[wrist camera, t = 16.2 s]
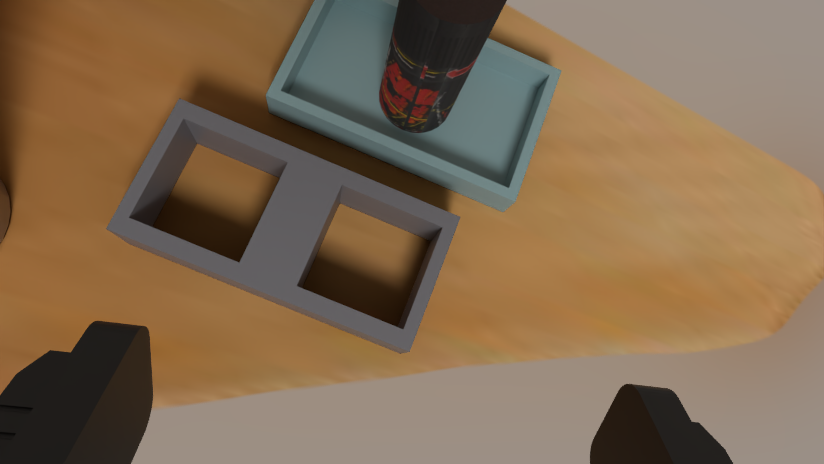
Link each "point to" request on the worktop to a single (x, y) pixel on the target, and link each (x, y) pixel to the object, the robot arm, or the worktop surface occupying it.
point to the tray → (413, 152)
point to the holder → (281, 221)
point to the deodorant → (432, 58)
